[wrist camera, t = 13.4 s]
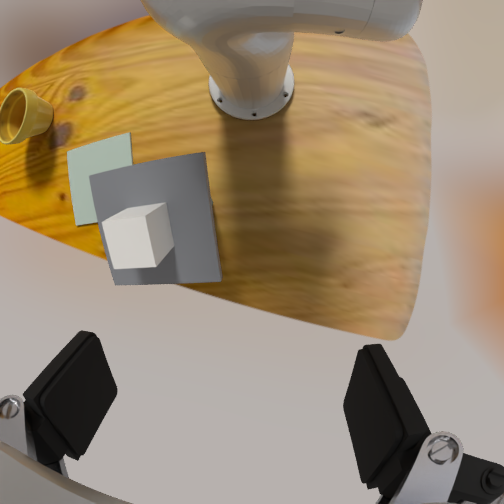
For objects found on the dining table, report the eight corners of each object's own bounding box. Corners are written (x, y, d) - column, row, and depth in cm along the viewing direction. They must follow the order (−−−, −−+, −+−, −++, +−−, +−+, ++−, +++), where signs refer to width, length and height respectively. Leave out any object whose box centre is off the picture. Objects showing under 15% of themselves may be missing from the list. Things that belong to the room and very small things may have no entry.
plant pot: (62, 132, 38) (27, 130, 29) (29, 150, 39) (-4, 152, 30) (59, 85, 35) (27, 77, 26) (27, 106, 36) (-4, 103, 27)
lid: (93, 174, 26) (59, 184, 20) (205, 151, 24) (186, 154, 19) (118, 281, 30) (94, 307, 25) (222, 277, 29) (212, 308, 24)
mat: (68, 151, 39) (66, 151, 39) (130, 132, 38) (129, 132, 38) (77, 225, 43) (76, 225, 43) (139, 215, 43) (138, 216, 42)
